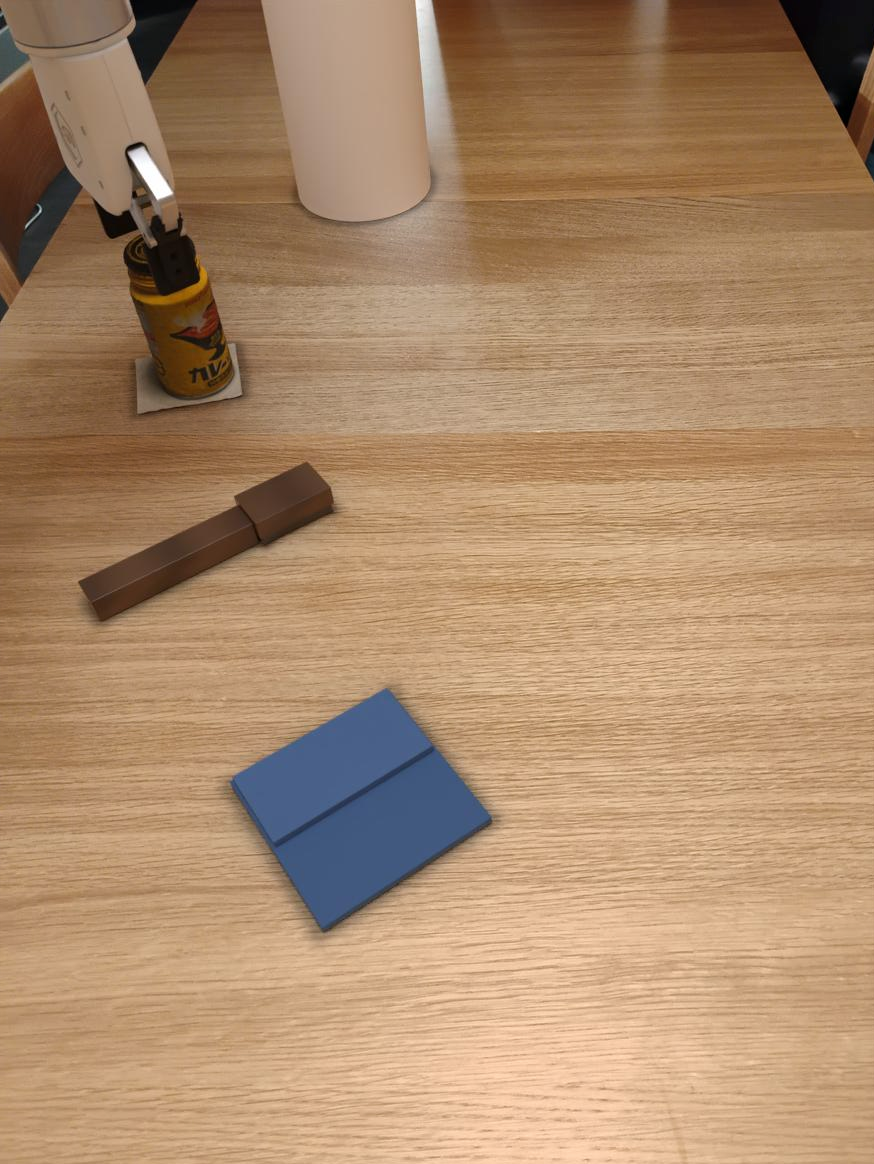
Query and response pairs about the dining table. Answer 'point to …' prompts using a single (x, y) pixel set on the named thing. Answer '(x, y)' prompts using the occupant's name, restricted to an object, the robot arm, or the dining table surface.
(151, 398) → the condiment
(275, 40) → the canister
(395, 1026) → the dining table surface
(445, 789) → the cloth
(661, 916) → the dining table surface
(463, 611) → the dining table surface
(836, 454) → the dining table surface
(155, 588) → the brown bar
